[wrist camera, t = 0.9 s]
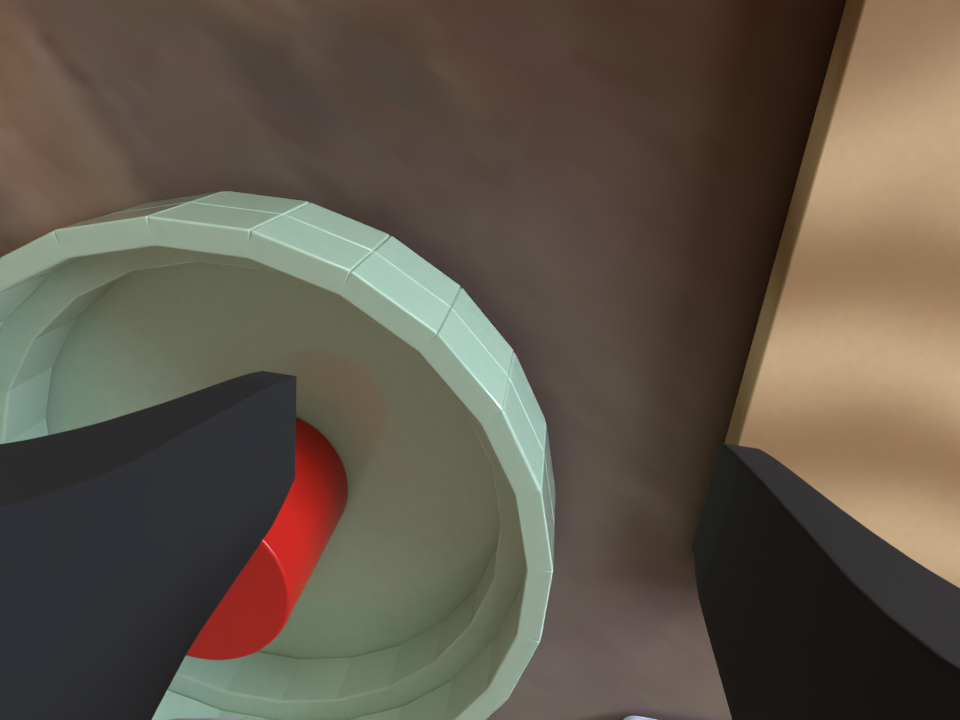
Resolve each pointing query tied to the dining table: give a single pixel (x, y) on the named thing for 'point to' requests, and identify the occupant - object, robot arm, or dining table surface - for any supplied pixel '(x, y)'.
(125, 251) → the bowl
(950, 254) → the cutting board
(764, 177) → the dining table surface
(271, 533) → the pepper
